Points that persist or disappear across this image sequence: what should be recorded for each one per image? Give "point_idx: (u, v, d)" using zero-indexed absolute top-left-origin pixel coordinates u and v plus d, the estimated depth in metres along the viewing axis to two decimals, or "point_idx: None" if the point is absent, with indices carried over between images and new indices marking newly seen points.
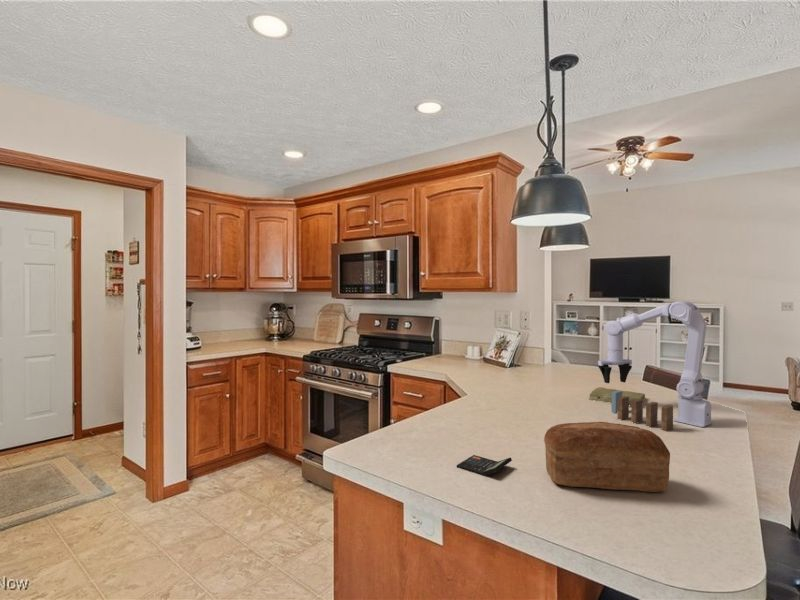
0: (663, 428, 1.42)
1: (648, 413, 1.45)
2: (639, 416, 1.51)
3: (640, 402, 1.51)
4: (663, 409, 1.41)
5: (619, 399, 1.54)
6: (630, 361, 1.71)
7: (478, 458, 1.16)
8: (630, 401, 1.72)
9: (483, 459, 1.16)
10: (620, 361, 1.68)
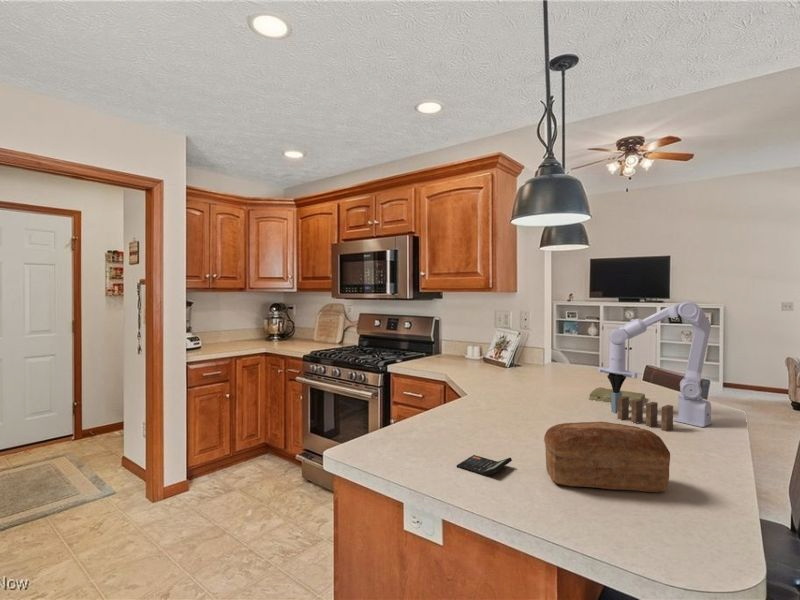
0: (663, 428, 1.42)
1: (648, 413, 1.45)
2: (639, 416, 1.51)
3: (640, 402, 1.51)
4: (663, 409, 1.41)
5: (619, 399, 1.54)
6: (632, 374, 1.58)
7: (478, 458, 1.16)
8: (630, 401, 1.72)
9: (483, 459, 1.15)
10: (613, 371, 1.62)
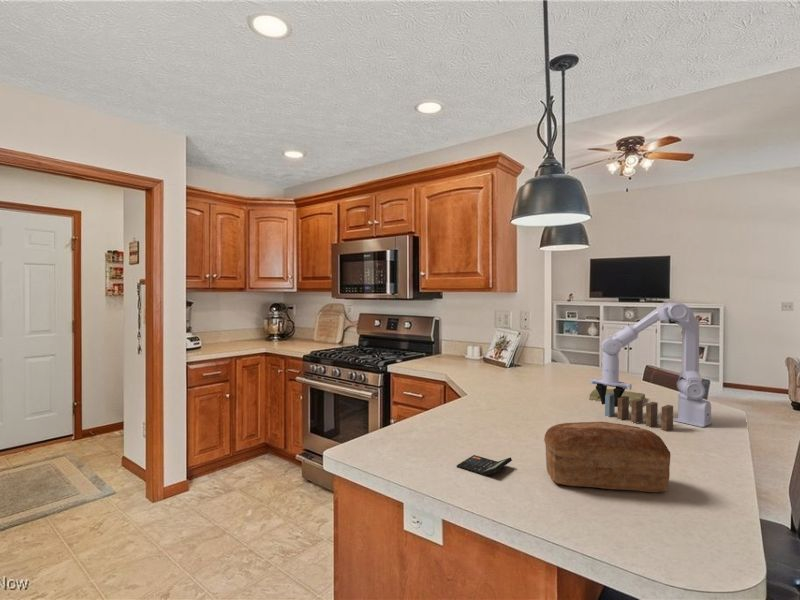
0: (663, 428, 1.42)
1: (648, 413, 1.45)
2: (639, 416, 1.51)
3: (640, 402, 1.51)
4: (663, 409, 1.41)
5: (619, 399, 1.54)
6: (627, 386, 1.54)
7: (478, 458, 1.16)
8: (630, 401, 1.72)
9: (483, 459, 1.15)
10: (607, 382, 1.57)
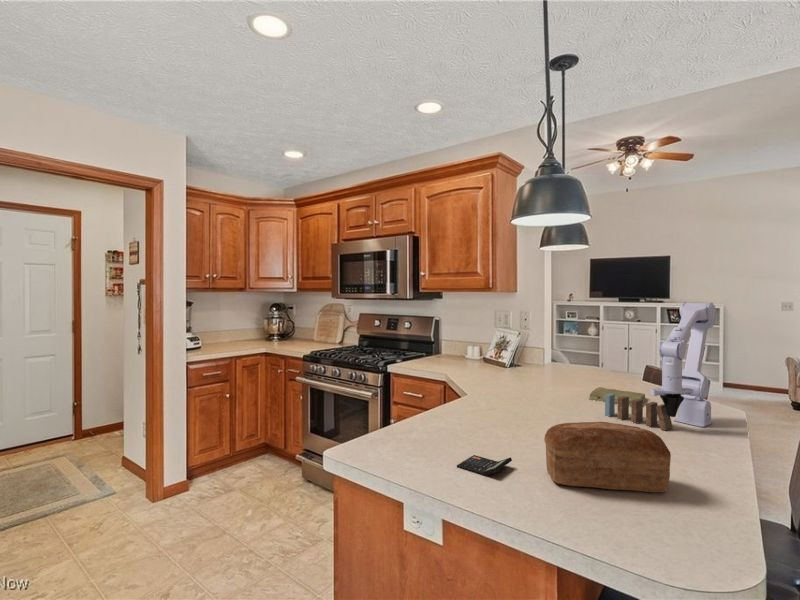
0: (662, 427, 1.42)
1: (648, 413, 1.45)
2: (639, 416, 1.51)
3: (640, 402, 1.51)
4: (658, 408, 1.43)
5: (619, 399, 1.54)
6: (691, 391, 1.41)
7: (478, 458, 1.16)
8: (630, 401, 1.72)
9: (483, 459, 1.15)
10: (678, 391, 1.39)
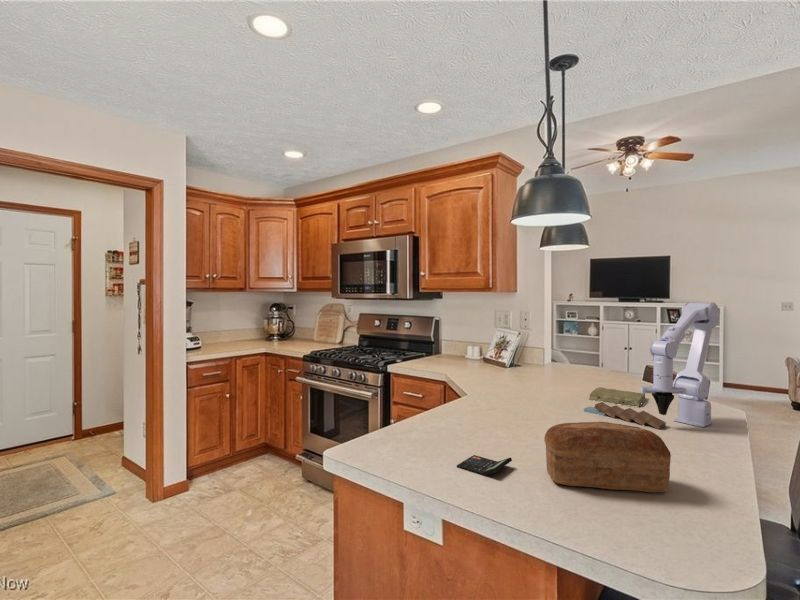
0: (657, 426, 1.43)
1: (631, 416, 1.50)
2: None
3: (615, 407, 1.58)
4: (638, 416, 1.48)
5: (595, 406, 1.61)
6: (684, 390, 1.42)
7: (478, 458, 1.16)
8: (630, 401, 1.72)
9: (483, 459, 1.15)
10: (668, 389, 1.41)
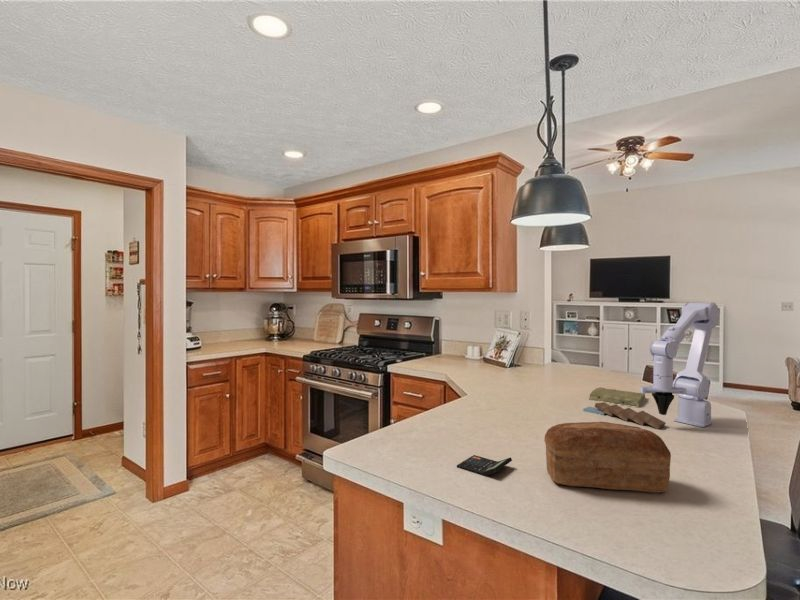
0: (656, 426, 1.43)
1: (629, 416, 1.50)
2: None
3: (615, 406, 1.59)
4: (637, 416, 1.48)
5: (595, 405, 1.64)
6: (684, 390, 1.42)
7: (478, 458, 1.16)
8: (630, 401, 1.72)
9: (483, 459, 1.15)
10: (668, 389, 1.41)
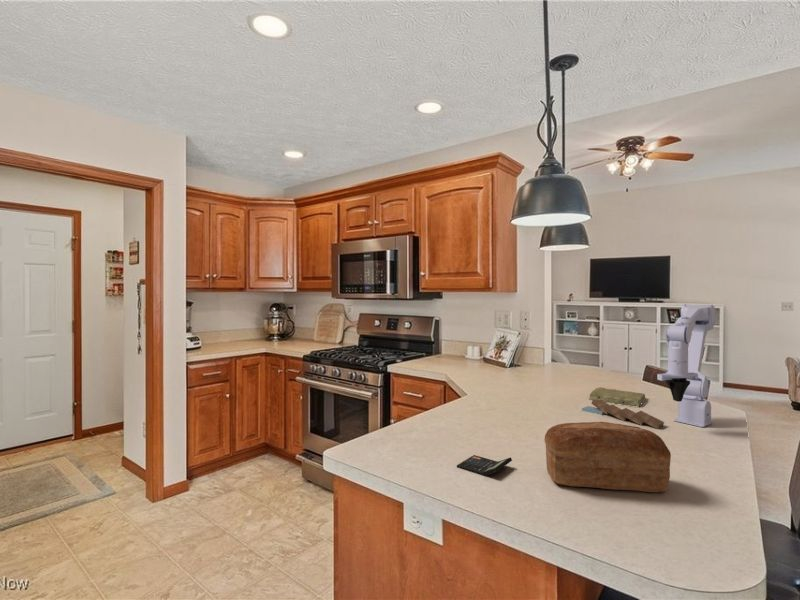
0: (655, 426, 1.43)
1: (628, 416, 1.50)
2: None
3: (611, 406, 1.59)
4: (636, 416, 1.48)
5: (592, 402, 1.65)
6: (696, 375, 1.41)
7: (478, 458, 1.16)
8: (630, 401, 1.72)
9: (483, 459, 1.15)
10: (685, 375, 1.38)
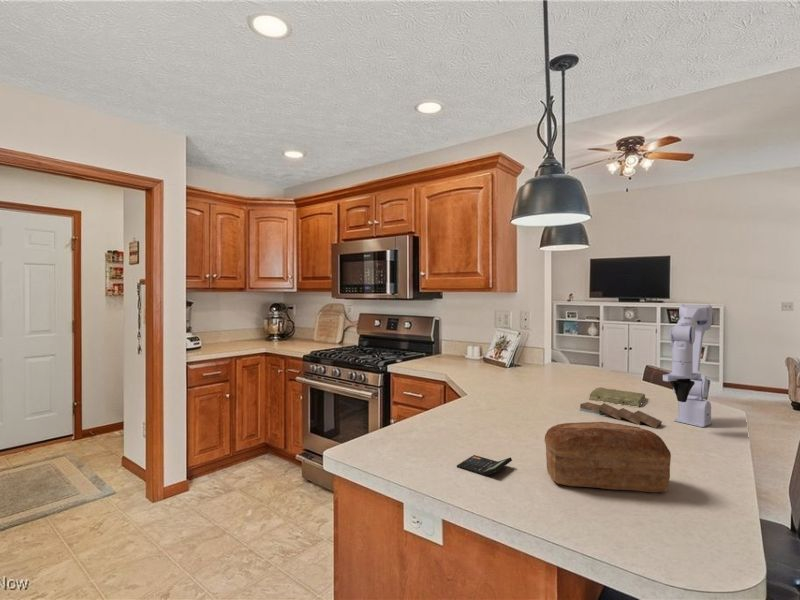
0: (654, 425, 1.44)
1: (625, 416, 1.51)
2: None
3: (604, 404, 1.60)
4: (634, 416, 1.49)
5: (581, 406, 1.66)
6: (699, 375, 1.41)
7: (478, 458, 1.16)
8: (630, 401, 1.72)
9: (483, 459, 1.15)
10: (690, 376, 1.37)
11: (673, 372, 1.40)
